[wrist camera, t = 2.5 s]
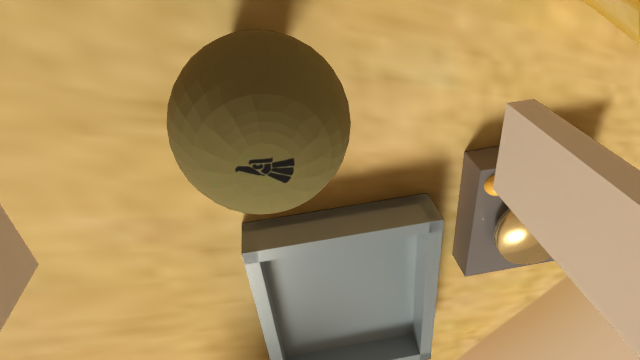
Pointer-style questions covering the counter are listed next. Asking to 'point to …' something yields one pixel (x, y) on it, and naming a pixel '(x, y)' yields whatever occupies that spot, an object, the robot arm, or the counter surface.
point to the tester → (479, 216)
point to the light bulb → (258, 122)
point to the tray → (347, 280)
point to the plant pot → (620, 15)
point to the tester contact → (517, 241)
